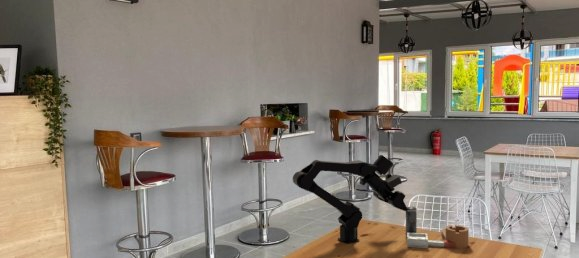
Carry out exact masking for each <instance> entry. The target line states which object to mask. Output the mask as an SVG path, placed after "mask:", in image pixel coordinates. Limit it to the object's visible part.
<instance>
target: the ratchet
mask: <svg viewBox="0 0 579 258" xmlns="http://www.w3.org/2000/svg"><path fill="white" fill-rule="evenodd" d="M406 236H407V237H406V238H407V239H406V240H407V241H406V242H407V243H406V244H407V246H406V247H407V248H416V249H417V248H418V249H429V247H437V248H448V249H456V248H455V242H450V241H448V240H443V239H442V240H429V238H428V233H426V232H425V233H423V232H422V233H421V232H417V233H407V234H406Z"/></svg>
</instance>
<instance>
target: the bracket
mask: <svg viewBox="0 0 579 258" xmlns="http://www.w3.org/2000/svg"><path fill="white" fill-rule="evenodd" d="M440 233H441V238H442V241H443V240H448V241H450V242H455V248H454V249H466V248H468V247H469V235H470V234H469V227H467V226H464V225H458V224H456V225H455V226H453V225H451V224H450V225H446V226H445V228H442V229H441V232H440Z"/></svg>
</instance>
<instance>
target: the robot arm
mask: <svg viewBox="0 0 579 258" xmlns="http://www.w3.org/2000/svg"><path fill="white" fill-rule="evenodd" d="M393 167H394V163H393V161H391V160H390V159H388V158H387V157H385V156H384V155H382V154H379V155H378V157H377V159H376V160H375V161H374V162H373V163H368V162H366V161H363V160H352V161H351V160H350V161H342V162H341V161H330V160H329V161H328V160H318V159H315V160H313V161H312V162H311V163H310V164H308V165H307V166H304V167H302V169H301V170H300V171H296V172H295V173H294V174H293V176H292V183H293V184H295V185H296V186H297V187H298V188H300V189H302V190H304V191H307V192H308V193H309V192H310V193H312V194H314V195H315V196H317V197H318V198H319V199H322V200H323V201H324V202H325V203H327V204H329V205H331V206H332V207H333V208H334V209H336V210H337V211H338V212H339V213H340V216H339V217H338V218H337V220H338V223H339V224H341V225H339V237H338V238H337V240H338V241H340V242H343V243H345V244H351V243H352V244H353V243H355V242H356V243H357V242H359V241H360V239H359V238H358V235H359V234H358V231H359V230H358V227H359V225H360V222H361V221H362V219H363V212H362V211H361V208H360V207H359V206H357V205H355V204H354V203H352V202H351V201H349V200H345V202H343V201H342V200H340V199H339V198H337V197H336V196H334V195H333V194H331V192H330V193H329V192H328V190H325V189H324V188H323V187H321V186H319V184H317V182H315V179H316V178H317V176H318V175H319V173H321V172H335V173H336V172H338V173H348V174H352V175H355V176H360V177H359V184H360V185H362V186H365V185H368V186H369V188H371V191H372V192H373V194H372V195H373V196H374V198H376V199H378V200H379V201H381V202H384V203H387V204H389V205H391V207H393V208H395V209H399V210H401V211H404V212H405V213H406V212H407V211H408V209H407V207H408V206H407V205H406V203H405V200H404V199H405V198H406V195H405V194H404V192H402V191H399V190H395V187H397V186H399V185H402V184H403V181H402V179H401V177H400V175H397V174H391V173H388V172H389V171H390V170H391V169H392V168H393ZM381 176H385V180H384V179H383V178H381Z"/></svg>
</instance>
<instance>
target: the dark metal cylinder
mask: <svg viewBox="0 0 579 258" xmlns="http://www.w3.org/2000/svg"><path fill="white" fill-rule="evenodd" d="M406 207H407V209H408V211H407V212H406V211H405V235H407V233H418V232H417V231H418V229H417V228H418V225H417V224H418V223H417V222H418V221H417V220H418V219H417V213H418V211H417V210H418V209H417V207H414V206H406Z"/></svg>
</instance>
